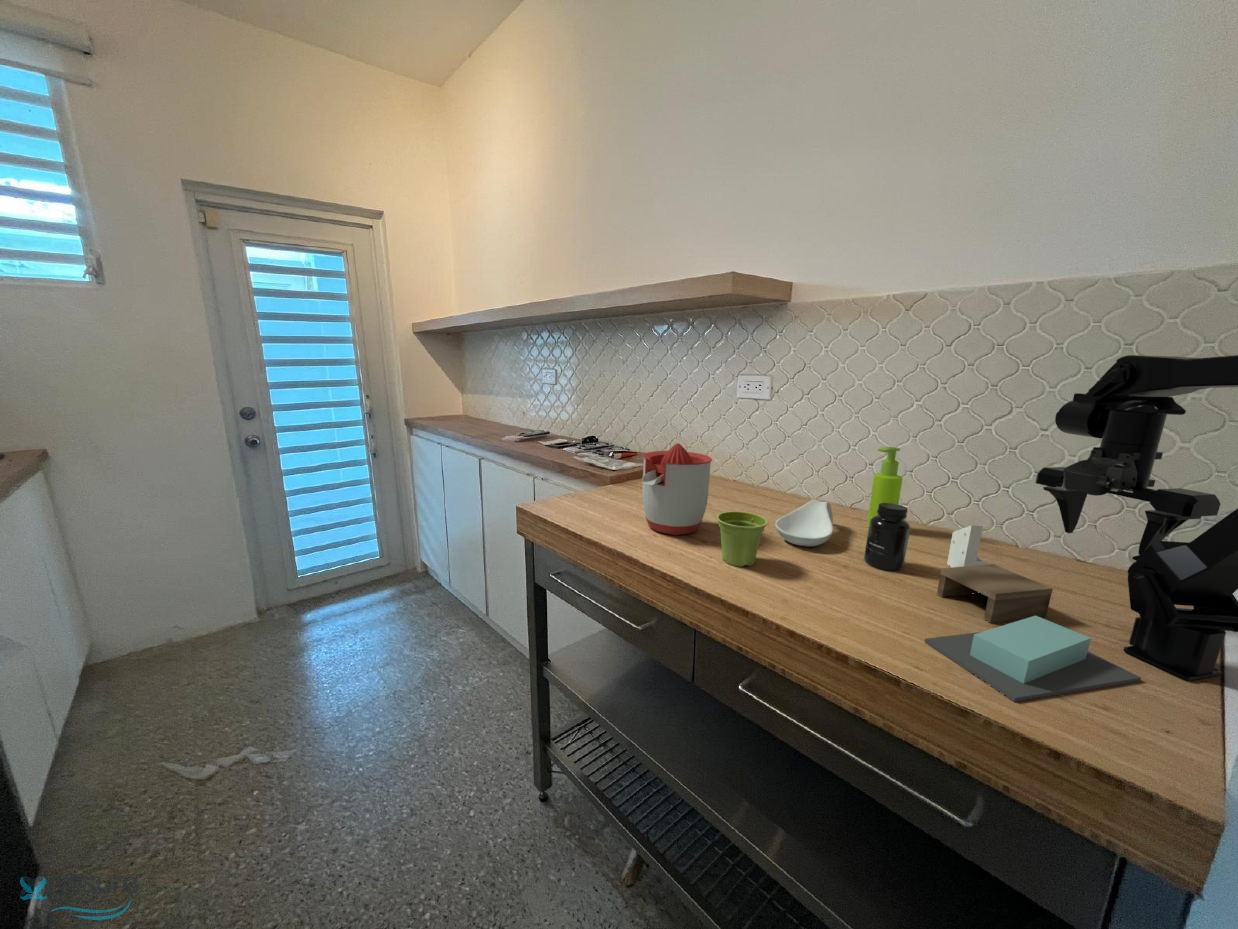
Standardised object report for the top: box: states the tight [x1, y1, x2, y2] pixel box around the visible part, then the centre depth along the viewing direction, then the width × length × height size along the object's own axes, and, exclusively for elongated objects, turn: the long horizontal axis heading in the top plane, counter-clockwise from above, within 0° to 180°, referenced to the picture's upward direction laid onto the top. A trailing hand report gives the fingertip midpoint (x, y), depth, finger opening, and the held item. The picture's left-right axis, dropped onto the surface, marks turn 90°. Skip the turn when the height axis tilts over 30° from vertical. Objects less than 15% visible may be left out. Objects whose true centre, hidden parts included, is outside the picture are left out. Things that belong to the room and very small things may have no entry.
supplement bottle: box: [863, 503, 911, 572], centre depth 89 cm, size 7×7×12 cm
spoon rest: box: [774, 498, 834, 548], centre depth 105 cm, size 24×12×7 cm, turn 144°
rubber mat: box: [923, 631, 1142, 703], centre depth 61 cm, size 12×20×1 cm, turn 103°
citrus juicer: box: [641, 443, 713, 536], centre depth 105 cm, size 16×17×20 cm
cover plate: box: [970, 616, 1092, 684], centre depth 60 cm, size 6×14×3 cm, turn 113°
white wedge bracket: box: [946, 524, 988, 568], centre depth 87 cm, size 4×10×9 cm, turn 169°
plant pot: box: [716, 510, 768, 568], centre depth 89 cm, size 9×9×9 cm
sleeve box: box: [936, 563, 1053, 624], centre depth 75 cm, size 9×11×5 cm
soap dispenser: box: [866, 446, 904, 528], centre depth 110 cm, size 6×7×20 cm
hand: (1103, 543), depth 71 cm, fingers open, 9 cm apart
